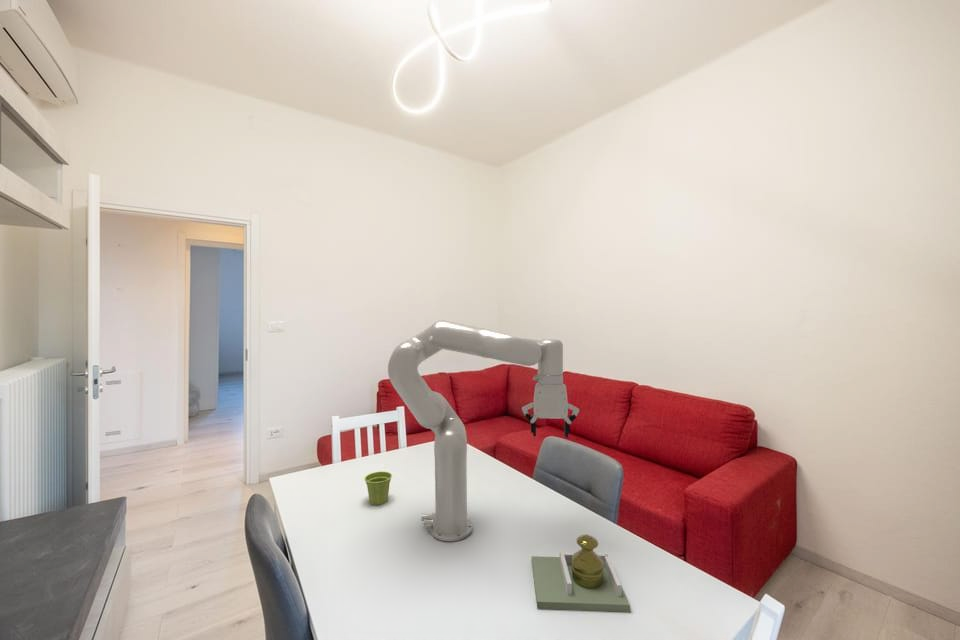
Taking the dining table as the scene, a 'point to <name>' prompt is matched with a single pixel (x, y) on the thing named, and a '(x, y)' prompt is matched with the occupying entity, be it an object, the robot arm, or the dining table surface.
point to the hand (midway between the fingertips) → (550, 435)
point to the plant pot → (378, 487)
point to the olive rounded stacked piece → (587, 563)
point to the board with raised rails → (575, 586)
